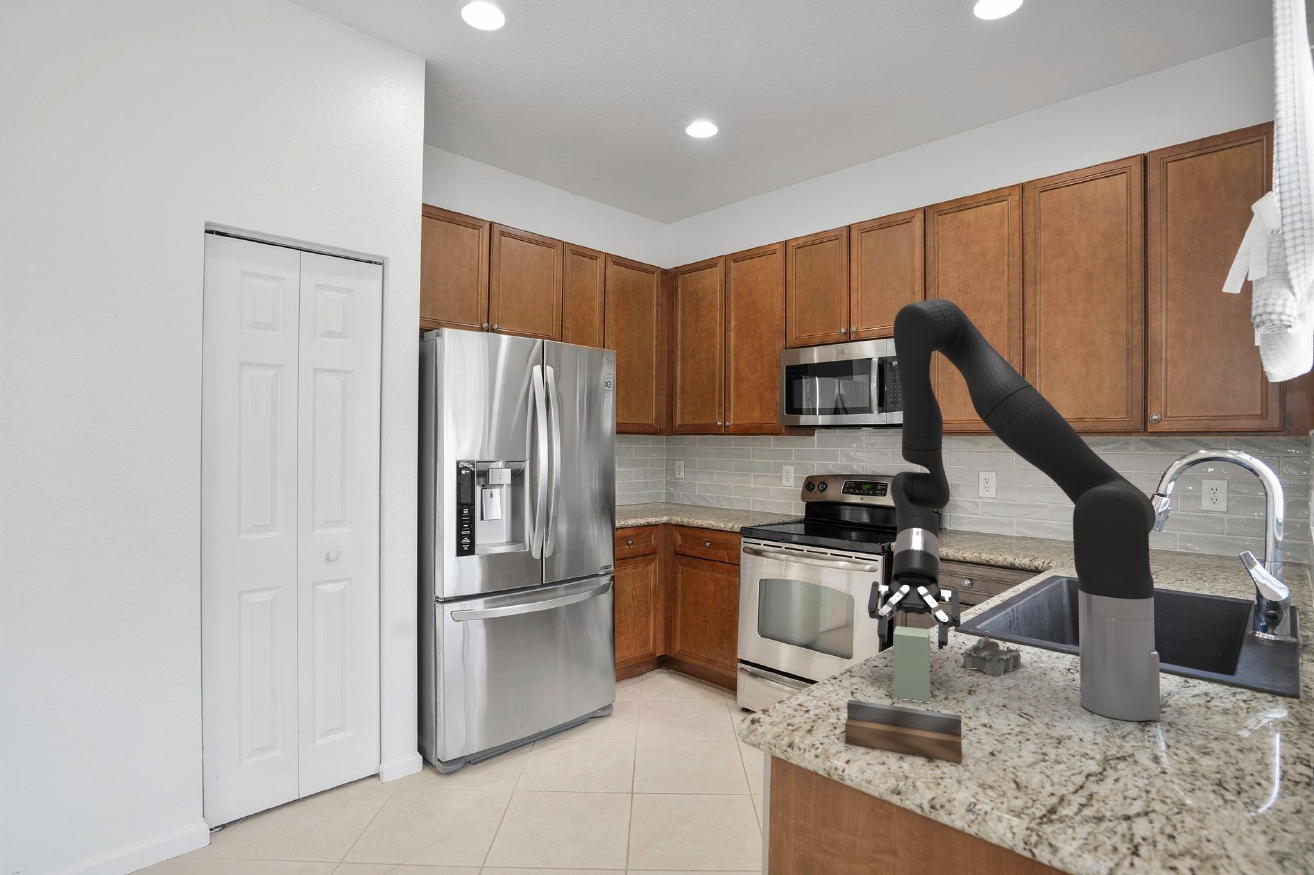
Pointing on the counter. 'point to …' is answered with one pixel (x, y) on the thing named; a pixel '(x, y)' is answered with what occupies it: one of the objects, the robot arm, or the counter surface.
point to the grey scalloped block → (991, 657)
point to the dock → (904, 730)
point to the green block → (911, 663)
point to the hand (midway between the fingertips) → (911, 643)
